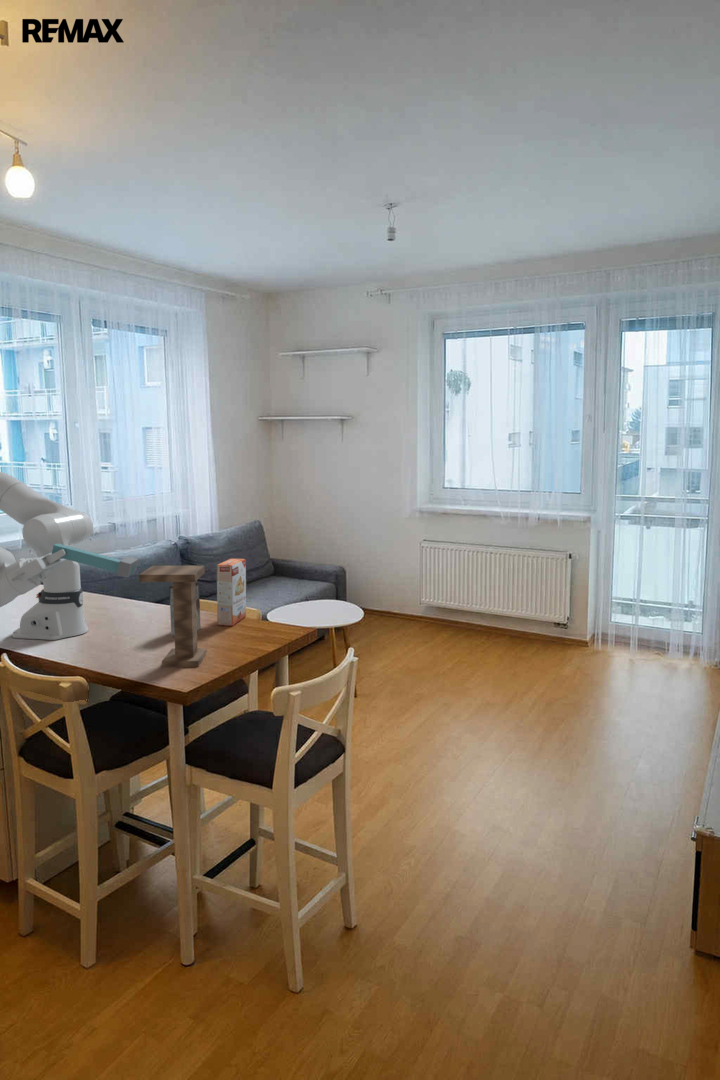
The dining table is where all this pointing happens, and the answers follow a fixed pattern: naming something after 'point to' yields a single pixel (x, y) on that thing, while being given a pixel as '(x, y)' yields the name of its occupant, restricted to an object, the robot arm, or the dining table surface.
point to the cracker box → (231, 591)
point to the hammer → (99, 560)
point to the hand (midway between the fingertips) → (67, 549)
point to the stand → (181, 612)
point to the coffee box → (196, 608)
